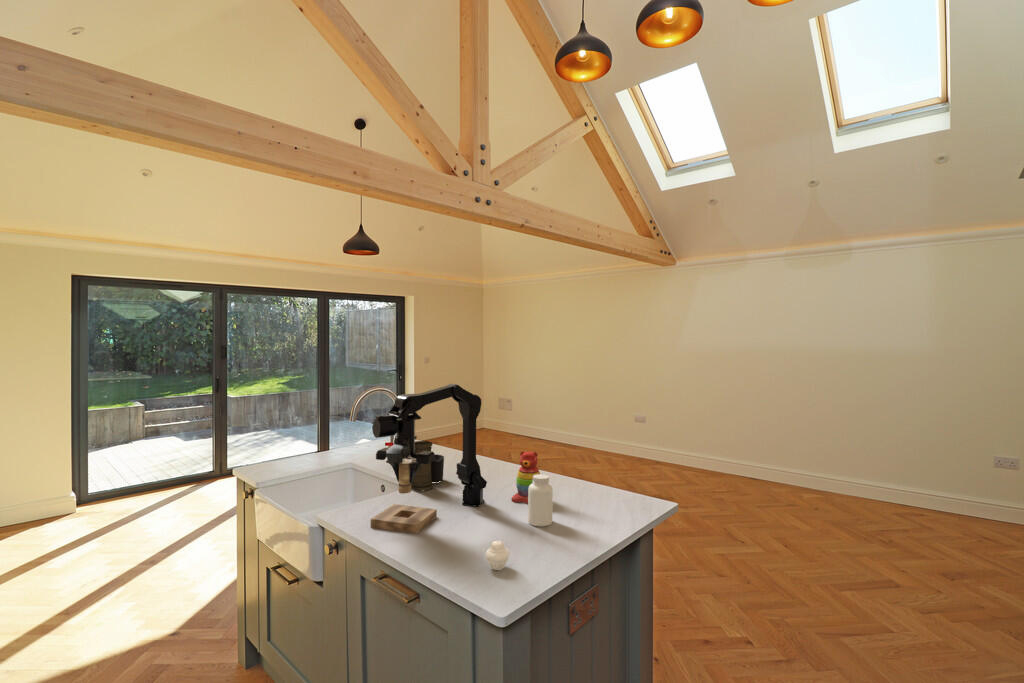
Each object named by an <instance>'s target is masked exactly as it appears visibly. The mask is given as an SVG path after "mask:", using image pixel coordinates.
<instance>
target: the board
mask: <svg viewBox="0 0 1024 683" xmlns="http://www.w3.org/2000/svg"><path fill="white" fill-rule="evenodd" d="M437 512H438V511H437V509H436V508H429V507H420V506H413V505H404V504H396V503H393V504H392V505H390V506H388V507H387V508H385V509H384V510H383V511H380V512H379V513H377V514H376V515H374V516H372V517H371V518H370V527H371V528H376V529H382V528H383V529H384V530H389V531H391V530H392V531H397V532H405V533H412V534H418V533H419V532H420V531H421V530H423V529H424V528H425V527H427V525H429V524H430V523H431V522H432V521H433V520H434V519H436V518H437Z"/></svg>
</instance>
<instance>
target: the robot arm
mask: <svg viewBox="0 0 1024 683" xmlns="http://www.w3.org/2000/svg"><path fill="white" fill-rule="evenodd" d="M449 398H452V400H454V401H455V402H456V403H458V404H457V405H458V411H459V413H460V415H461V419H462V458H461V461H460V462H456V472H455V475H457V478H458V479H459V481H460V483H461V485H463V490H462V503H461V505H462V506H469V507H477V508H478V507H480V506H481V505H482V504H483V503H484V502H485V499H484V489H486V487H487V484H488V481H487V480H486V479H485V478H484V477H483V476H482V473H481V466H480V464H479V462H478V459H477V419H478V416H479V414H480V412H481V410H482V409H481V408H482V398H481V397H480V396H479V395H477V394H474V393H472V392H470V391H469V390H466V389H464V388H463V387H461V386H460V385H459V384H455V383H449V384H447V385H444V386H441V387H438V388H435V389H434V388H433V389H430V390H427V391H424V392H420V393H407V394H406V393H405V394H399V395H398V396H397V397H396V398H395V400H394V404H393V405H392V407H391V408H390V410H389V412H387V414H386V415H379V414H378V415H375V419H374V420H373V422H372V423H373V424H372V426H371V429H372V430H371V431H372V434H373V436H374V438H376V439H378V438H386V437H387V438H388V437H392V436H393V437H394V436H396V437H394V439H393V440H394V441H393V445H391V446H390V447H383V448H381V449H378V450H377V451H376V453H375V460H379V461H384V460H386V461H385V463H387V464H389V465H390V466H391V467H392V469H393V472H394V475H395V477H396V480H397V482H398V483H399V463H402V462H403V460H404V459H407V460H411V462H410V463H409V466H410V483H412V482H413V480H414V477H415V475H416V473H417V470H418V468H419V467H420V465H421V464H429V463H431V462H432V461H434V460H435V455H436V453H434V451H432V450H431V451H423V452H421V453H415V452H416V448H415V442H416V440H417V437H418V436H417V435H416V421H417V420H418V421H419V420H421V419H422V417H421V416H420V415H419V414H418V411H420V410H422V408H424V407H425V406H427V405H431V404H433V403H436V402H439V401H440V402H441V401H443V400H446V399H449Z"/></svg>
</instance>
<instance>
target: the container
mask: <svg viewBox="0 0 1024 683" xmlns="http://www.w3.org/2000/svg"><path fill="white" fill-rule="evenodd" d="M432 446H433V442H432V441H428V440H419V441H418V440H417V441H415V448H416V452H415V453H421V452H423V451H431V452H432V448H433V447H432ZM431 475H432V474H431V463H429V464H421V465H420V467H419V468H418V470H417V473H416V475H415V477H414V480H413V482H412V484H411V489H414V490H427V491H429V490H428V489H430V490H431V488H432V489H433V484H432V480H431Z"/></svg>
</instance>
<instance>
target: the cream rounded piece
mask: <svg viewBox="0 0 1024 683" xmlns="http://www.w3.org/2000/svg"><path fill="white" fill-rule="evenodd" d="M509 556H510V552H509V550H508V548H506V547H505V544H504V542H503V541H501V540H494V541H492V542H491V543H490V547H489V548H488V549H487V550H486V552H485V558H486V561H487V563H488V566H489V567H490V569H491V570H492V569H494V570H499V571H502V570H503V569H505V568H504V567H505V566H506V564H507V562H508V560H509ZM501 569H502V570H501ZM494 570H493V571H494Z"/></svg>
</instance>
